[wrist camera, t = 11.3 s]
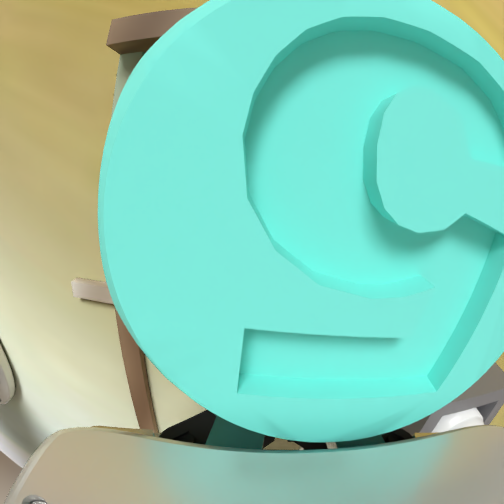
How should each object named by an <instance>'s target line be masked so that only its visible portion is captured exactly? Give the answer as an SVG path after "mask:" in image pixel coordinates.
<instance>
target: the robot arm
mask: <svg viewBox="0 0 504 504" xmlns="http://www.w3.org/2000/svg"><path fill="white" fill-rule="evenodd" d="M14 392H15V384H14V378H13V374H12V371H11V368H10V365H9V363H8V360H7V357H6V355H5V353H4V351H3V349H2V347H1V344H0V404H6V403H8V402H9V401H10V399H11V398H12V397H13V395H14ZM274 439H275V437H272V436H267V435H264V434H261V433H258V432H254V431H251V430H248V429H245V428H243V427H240V426H238V425H236V424H233V423H231V422H229V421H227V420H225V419H223V418H221V417H219V416H218V415H216V414H214V413H212V412H211V411H209V410H206V411H204V412H202V413H200V414H197V415H195V416H193V417H191V418H189V419H187V420H185V421H183V422H180V423H178V424H176V425H174V426H171V427H169V428H167V429H166V430H164V431H163V432H162V433H154V432H153V430H150V429H130V428H117V427H106V426H92V427H77V428H68V429H63V430H60V431H57V432H55V433H53V434H51V435H50V436H49V437H48V438H46V439H45V440H44V441H43V442H42V443H41V445H40V446H39V447H38V448H37V449H36V450H35V452H34V453H33V454H32V456H31V457H30V459H29V460H28V461H27V463H26V464H25V466H24V468H23V469H22V471H21V472H20V474H19V476H18V478H17V479H16V481H15V482H14V484H13V486H12V488H11V490H10V492H9V494H8V496H7V498H6V500H5V502H4V504H504V427H501V426H496V425H476V426H469V427H463V428H458V429H454V430H449V431H445V432H436V433H414V434H413V436H411V435H410V433H408V432H407V431H405V430H403V429H401V428H399V429H396V430H394V431H391V432H388V433H384V434H380V435H377V436H373V437H369V438H363V439H357V440H351V441H341V442H303V441H293V440H288V442H295V443H296V444H298V445H299V446H300V447H299V450H263V448H264V447H266V446H267V445H269V444H270V443H271V442H273V441H274Z"/></svg>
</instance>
